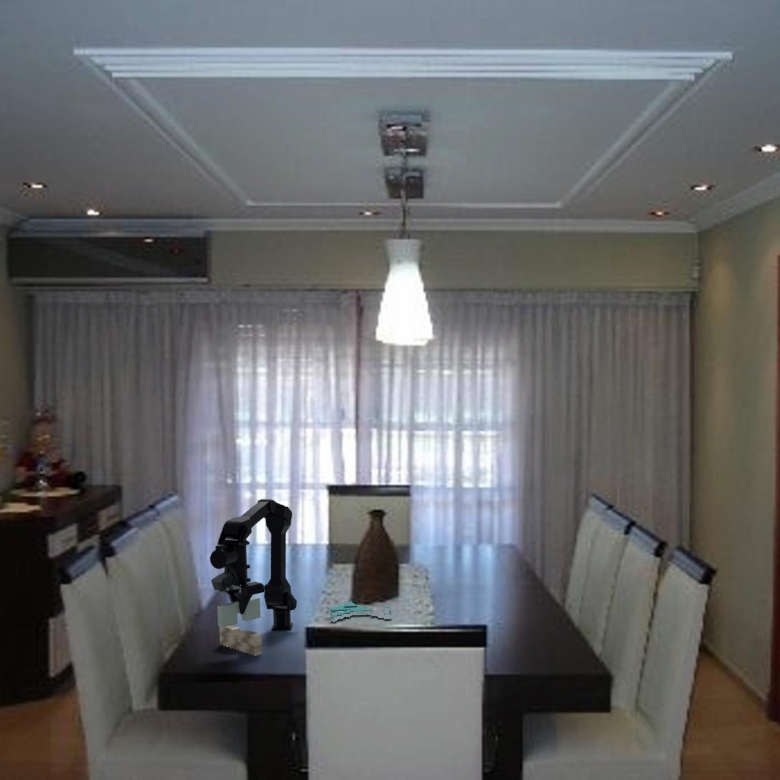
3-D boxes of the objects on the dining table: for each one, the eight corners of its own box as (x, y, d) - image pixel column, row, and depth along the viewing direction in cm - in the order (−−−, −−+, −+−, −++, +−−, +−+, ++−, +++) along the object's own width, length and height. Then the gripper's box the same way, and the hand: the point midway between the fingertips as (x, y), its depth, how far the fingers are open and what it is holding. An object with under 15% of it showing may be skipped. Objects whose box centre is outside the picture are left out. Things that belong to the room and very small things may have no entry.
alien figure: (390, 621, 322) (388, 606, 341) (390, 614, 321) (388, 599, 341) (330, 623, 321) (331, 608, 341) (330, 617, 321) (331, 602, 341)
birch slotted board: (220, 644, 299) (219, 625, 299) (226, 643, 301) (225, 623, 300) (255, 656, 286) (254, 635, 286) (262, 654, 288) (261, 634, 288)
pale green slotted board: (222, 627, 287) (221, 607, 287) (218, 626, 289) (217, 606, 289) (260, 617, 297) (259, 598, 297) (255, 616, 299) (255, 596, 299)
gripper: (197, 562, 294) (199, 614, 294) (233, 570, 280) (235, 624, 281) (227, 556, 301) (229, 606, 302) (264, 564, 288) (266, 616, 289)
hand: (239, 613), depth 293 cm, fingers closed on pale green slotted board, 2 cm apart
